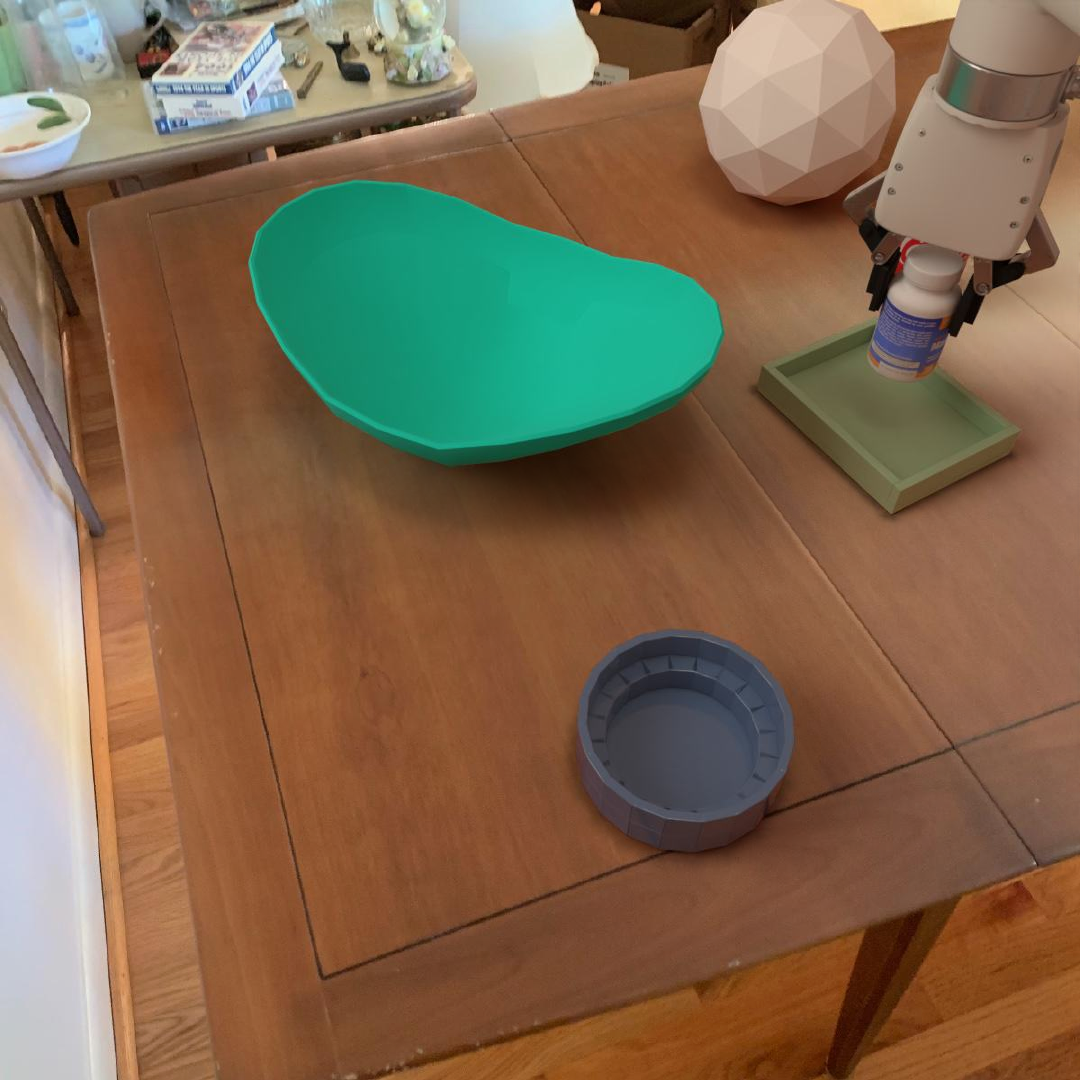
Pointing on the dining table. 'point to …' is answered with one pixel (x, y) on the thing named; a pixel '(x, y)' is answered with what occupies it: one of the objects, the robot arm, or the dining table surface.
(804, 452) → the dining table surface
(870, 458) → the tray
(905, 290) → the pill bottle
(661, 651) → the bowl
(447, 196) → the table top decor
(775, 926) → the dining table surface
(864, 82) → the ball
